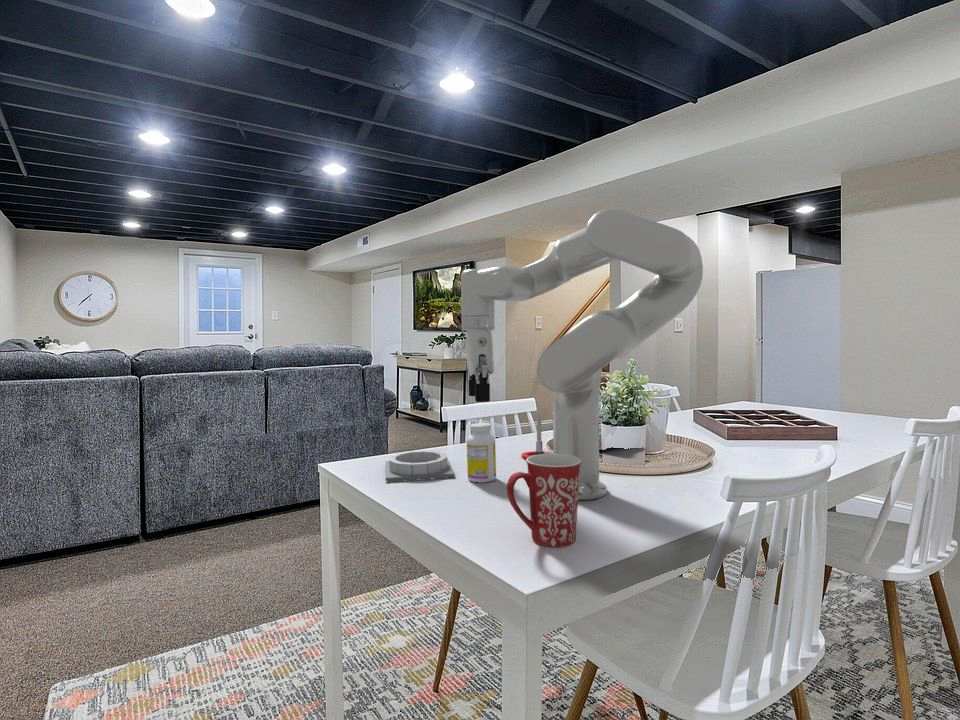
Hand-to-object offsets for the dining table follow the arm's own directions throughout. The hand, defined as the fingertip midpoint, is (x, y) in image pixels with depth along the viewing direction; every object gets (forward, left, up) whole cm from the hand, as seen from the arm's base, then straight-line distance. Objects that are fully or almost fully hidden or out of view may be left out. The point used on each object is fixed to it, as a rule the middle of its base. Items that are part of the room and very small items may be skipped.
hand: (478, 398), depth 129 cm
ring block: (+11, +14, -19) cm, 26 cm away
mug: (-38, -4, -19) cm, 43 cm away
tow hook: (+17, -18, -19) cm, 31 cm away
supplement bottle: (0, 0, -19) cm, 19 cm away
